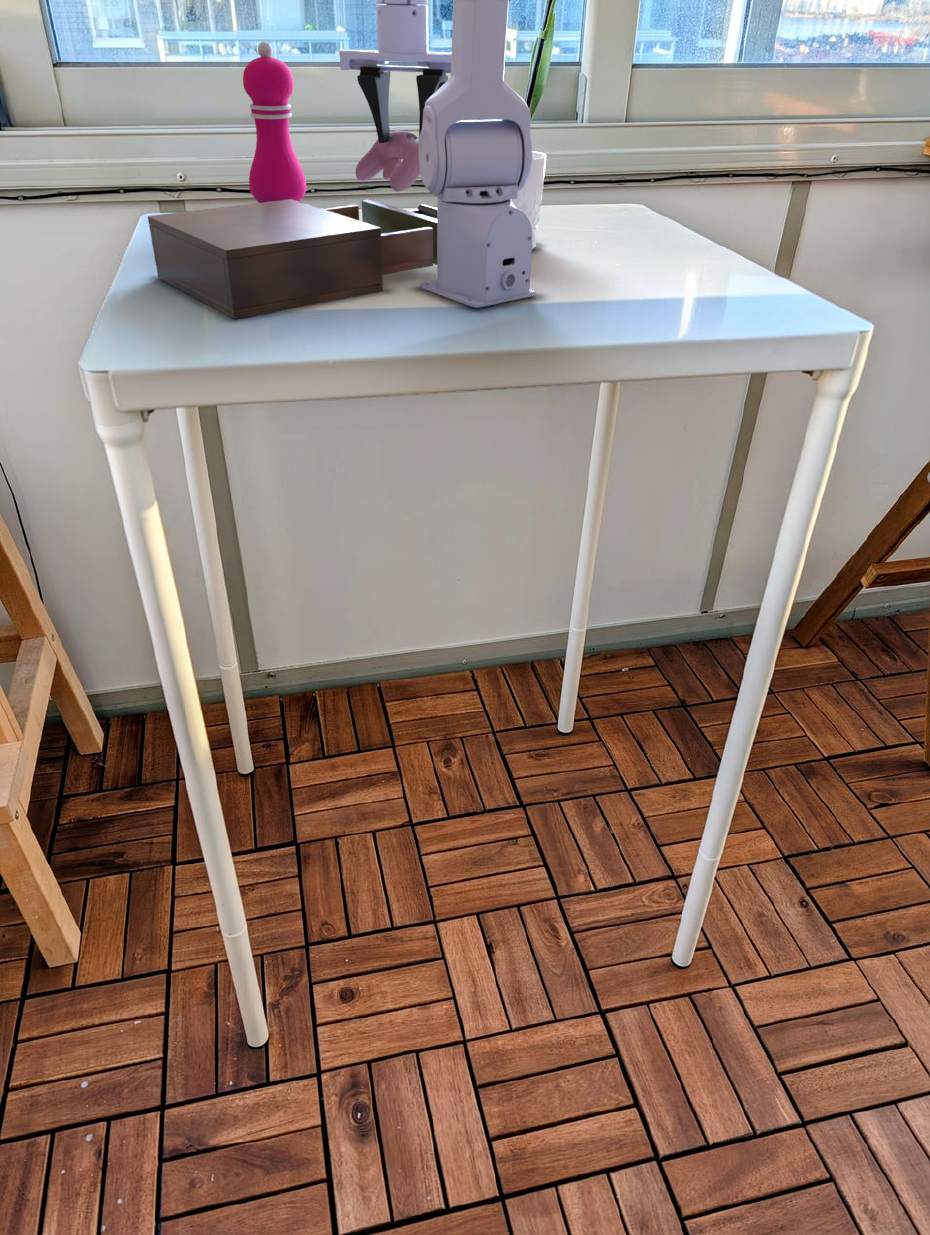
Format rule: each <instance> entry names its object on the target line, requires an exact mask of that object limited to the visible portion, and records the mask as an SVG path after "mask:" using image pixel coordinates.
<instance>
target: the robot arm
mask: <svg viewBox="0 0 930 1235" xmlns="http://www.w3.org/2000/svg"><path fill="white" fill-rule="evenodd" d="M509 3H510V0H452V27H451V52H445V51H444V52H443V51H442V52H441V51H429V5H428V4H429V0H375V14H376V39H377V40H376V43H377V49H340V50H339V68H340V71H359V74H358V75H357V77H356V79H357V83H358V85H359V88H360V90H361V91H362V93H363V95H364V98H365V100H366V102H367V105H368V107H369V110H370V112H371V116H372V119H373V122H374V127H375V130H376V131H375V132H376V134H377V135H376V136H377V139H378V141H379V143H386V142H388V139H389V136H390V133H391V129H390V128H391V127H390V113H389V104H390V103H389V101H390V86H391V85H390V84H391V72H403V73H405V72H406V73H422V74H419V75H416V76H415V78H416V79H415V80H416V88H417V97H418V108H419V109H418V110H419V111H418V112H419V119H418V120H419V122H418V123H419V124H418V125H419V126H418V137H419V167H420V173H421V174H420V178H421V181H422V184H423V186H424V187H425V189H426V190H427V191H428V192H429V193H430V194H431V195H433V196H434V197H436V208H437V265H436V267H437V268H436V275H437V276H436V279H430V280H425V281H420V283H419V287H420V288H421V289H424V290H426V291H429V292H431V293H434V294H437V295H439V296H442V297H444V298H447V299H450V300H452V301H456V302H458V303H460V304H463V305H466V306H468V307H471V308H474V309H481V308H485V307H490V306H494V305H498V304H503V303H509V302H512V301H516V300H522V299H526V298H531V297H535V296H536V291H535V290H534V289H531V288H530V284H531V268H532V250H533V249H532V228H531V224H530V221H529V219H528V217H527V216H526V214H525V213H524V212H522V211H521V210H519V209H517V208H516V207H515V206H514V205H513V203H512V200H511V199H517V193H518V191H519V190H521V189H522V188H523V187H524V185H525V183H526V182H527V180H528V178H529V175H530V172H531V167H532V151H533V142H532V136H531V134H532V133H531V130H532V128H531V124H532V123H531V122H532V114H531V110H530V108H529V106H528V104H527V102H526V101H525V100H524V99H523V98H522V96H520V94H518V93H517V92H516V91H515V90H514V89H513V88H512V87H511V86H510V85H509V84H508V83H507V82H506V81H505V79H504V77H505V65H506V64H505V63H506V48H507V34H508V19H509ZM390 62H391V63H392V62H393V63H394V62H395V63H417V66H409V65H407V66H406V65H405V66H404V65H388V64H390ZM447 74H450V77H449V76H448V75H447Z"/></svg>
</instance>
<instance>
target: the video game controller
mask: <svg viewBox="0 0 930 1235" xmlns="http://www.w3.org/2000/svg"><path fill="white" fill-rule="evenodd" d="M380 172H382V178H383V179H385V180H386V181H388V182H390V188H391V190H393V191H394V192H401V191H404V190H406V189H409V188H410V187H411V186H412V185H413V184H414V183H415V182H416V181H417V180H418V178H420V177H421V173H420V167H419V135H416V134H414V133H412V132H409V131H407V130H400V129H396V130H393V131H390V136H389V139H388V142H386V143H379V141H378V138H377V139H376V141H375V142H374V143H373V145H372V146H371V148H370V149H369V150H368V151H367V152H366V153H365V154H364V155H363V156H362V157H361V159H360V160H359V161H358V162H357V164H356V167H355V177H356V179H357V180H358V181H360V182H366V181H368V180H371V179H373V178H374V177H376V176H377V175H378V174H379V173H380Z"/></svg>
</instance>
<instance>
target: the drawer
mask: <svg viewBox="0 0 930 1235" xmlns="http://www.w3.org/2000/svg"><path fill="white" fill-rule="evenodd" d="M323 209H324V210H327V211H330V212H333V213H336V214H339V215H342V216H345V217H349V218H352V219H355V220H358V221H360V207H359V205H357V204H349V205H341V206H333V207H326V208H323ZM361 218H362V219H361V220H362V221H361V222H364V223H367V224H370V225H373V226H376V227H380V228H381V249H382V276H385V275H386V276H387V275H392V274H396V273H402V272H407V271H408V272H409V271H413V270H414V271H415V270H419V269H424V268H429V267H433V266H434V265H436V266H437V207H434V206H430V205H427V204H420V205H418V206H417V208H415V209H409V210H407V209H403V208H400V207H397V206H393V205H390V204H388V203H387V204H386V203H383V202H379V201H376V200H373V199H363V200H361Z"/></svg>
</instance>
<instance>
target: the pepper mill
mask: <svg viewBox="0 0 930 1235" xmlns="http://www.w3.org/2000/svg"><path fill="white" fill-rule="evenodd" d="M257 53H258V55H259V57H256V58H254V59H252V60H250V61H249V62H248V63H247V64H246V66H245V67H244V70H243V74H242V84H243V85H242V86H243V89H244V91H245V93H246V94H247V96H248V97H249V99H250V100H251V102H252V103H251V104H249V108H250V117H251V118H253V119H254V125H255V130H256V132H255V133H256V144H255V152H254V156H253V160H252V163H251V167H250V170H249V175H248V188H249V192H250V194H251V195H252V197H253V198H254V199H255V200H256V201H257V203H263V202H271V201H280V200H288V199H293V200H296V201H299V202H302V199H304V196H305V194H307V193H306V192H307V182H306V181H307V180H306V176H305V174H304V171H303V167H302V165H301V163H300V160H299V159H298V157H297V155H296V152H295V150H294V147H293V144H292V139H291V134H290V118H292V116H293V114H292V110H291V108H292V105H291V104H290V103H289V99H290V97H291V96H292V94H293V93H294V88H295V86H294V85H295V84H294V77H293V74H292V72H291V70H290V68H289V67H288V65H287V64H286V63H285V62H284V61H283V60H281V59H278V58H277V57H272V56H273V54H274V48H273V46H272V44H271V43H270V42H268V41H261V42H259V44H258V46H257Z"/></svg>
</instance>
